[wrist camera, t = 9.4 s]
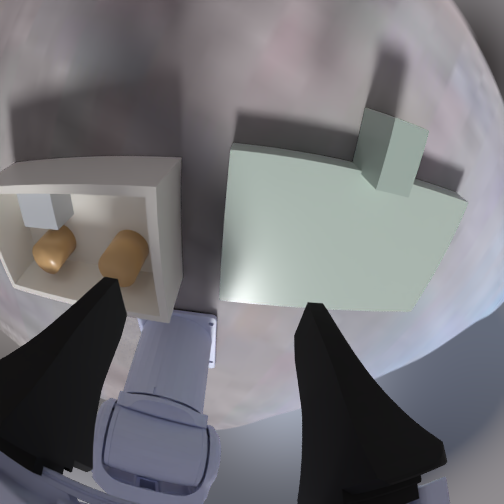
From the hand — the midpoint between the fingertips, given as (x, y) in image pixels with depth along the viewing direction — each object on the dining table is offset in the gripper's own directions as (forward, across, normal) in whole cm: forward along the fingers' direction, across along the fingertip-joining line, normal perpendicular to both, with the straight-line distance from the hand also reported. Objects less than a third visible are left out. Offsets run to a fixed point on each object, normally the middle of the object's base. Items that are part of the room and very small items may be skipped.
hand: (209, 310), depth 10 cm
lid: (+10, -9, 0) cm, 13 cm away
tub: (+10, +11, +2) cm, 15 cm away
